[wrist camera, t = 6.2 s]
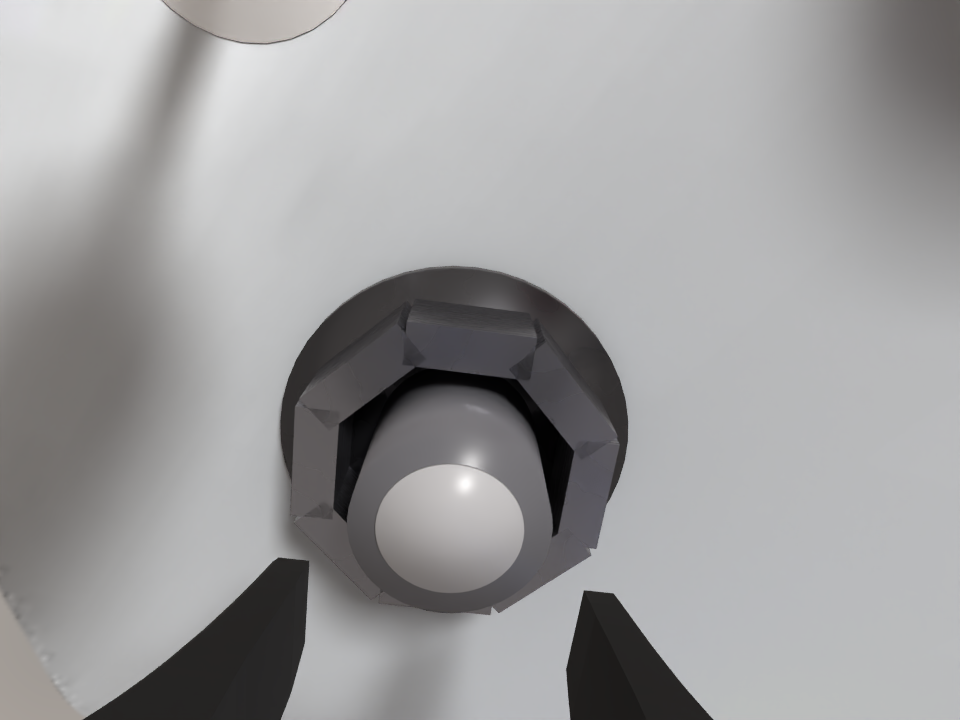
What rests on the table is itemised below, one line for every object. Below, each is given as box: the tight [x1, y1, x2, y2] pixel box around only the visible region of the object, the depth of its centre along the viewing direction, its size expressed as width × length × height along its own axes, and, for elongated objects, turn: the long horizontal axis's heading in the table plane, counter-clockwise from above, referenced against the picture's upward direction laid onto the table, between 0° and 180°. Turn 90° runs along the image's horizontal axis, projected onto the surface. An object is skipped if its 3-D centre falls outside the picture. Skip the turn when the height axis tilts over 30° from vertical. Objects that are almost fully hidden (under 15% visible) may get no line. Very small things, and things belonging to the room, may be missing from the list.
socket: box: [281, 266, 628, 615], centre depth 19 cm, size 11×11×3 cm
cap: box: [347, 368, 553, 613], centre depth 18 cm, size 5×5×5 cm
